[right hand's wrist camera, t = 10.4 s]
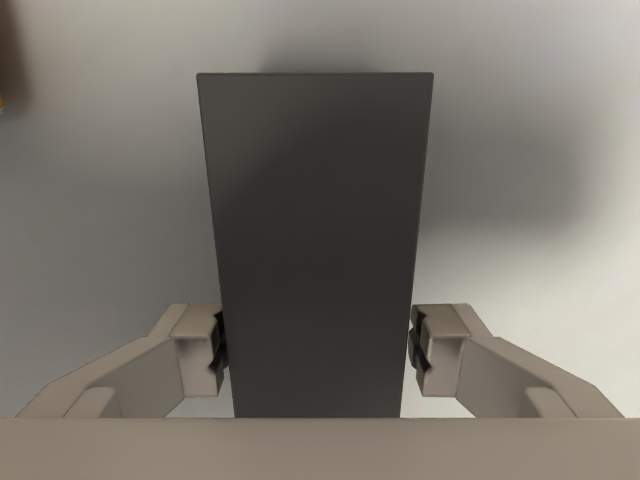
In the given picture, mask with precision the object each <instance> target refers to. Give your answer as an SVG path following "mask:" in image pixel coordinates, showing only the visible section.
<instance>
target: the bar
mask: <svg viewBox="0 0 640 480" xmlns="http://www.w3.org/2000/svg"><path fill="white" fill-rule="evenodd" d="M196 79H197V87H198V96H199V105H200V114H201V123H202V132H203V141H204V149H205V158H206V167H207V176H208V185H209V194H210V203H211V211H212V220H213V229H214V238H215V247H216V256H217V265H218V273H219V282H220V291H221V300H222V309H223V318H224V327H225V335H226V344H227V353H228V362H229V371H230V380H231V389H232V397H233V406H234V415H235V418H400V410H401V400H402V390H403V380H404V370H405V360H406V350H407V340H408V330H409V320H410V310H411V300H412V290H413V280H414V270H415V260H416V250H417V240H418V230H419V220H420V210H421V200H422V190H423V180H424V170H425V160H426V150H427V140H428V130H429V120H430V110H431V100H432V90H433V80H434V74H433V73H432V72H361V73H198V74H197V75H196Z"/></svg>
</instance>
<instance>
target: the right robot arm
mask: <svg viewBox="0 0 640 480" xmlns="http://www.w3.org/2000/svg"><path fill="white" fill-rule="evenodd" d="M410 319H411V322H412V324H413V328H412V329H411V330H410V331H409V335H408V353H409V358H410V362H411V365H412V366H413V367H414V368H415V369H417V373H416V379H417V382H418V385H419V388H420V391H421V394H422V396H423V397H456V400H458V401H459V402H460V403H461V404H462V405H463V406H464V407H465V408H466V409H467V410H469V411H470V412H471V413H472V414H473V415H474V416H475V417H476V418H164V417H165V416H166V415H167V414H168V413H169V412H170V411H172V410H173V409H174V408H175V407H176V406H177V405H178V404H179V403H180V402H181V401H183V400H184V397H217V396H218V394H219V391H220V388H221V385H222V382H223V379H224V373H223V369H225V368H226V367H227V366H228V365H229V362H228V353H227V344H226V335H225V327H224V318H223V309H222V304H190V303H177V304H170V305H169V307H168V308H167V309H166V311H165V312H164V313H163V315H162V316H161V318H160V319H159V320H158V322H157V323H156V324H155V326H154V327H153V329H152V330H151V331H150V333H149V334H148V335H147V337H140V338H138V339H136V340H134V341H132V342H130V343H128V344H126V345H124V346H122V347H120V348H118V349H116V350H114V351H112V352H110V353H108V354H106V355H104V356H102V357H100V358H98V359H96V360H94V361H92V362H90V363H88V364H87V365H85V366H83V367H81V368H79V369H77V370H75V371H73V372H71V373H69V374H67V375H65V376H63V377H61V378H59V379H57V380H55V381H53V382H51V383H49V384H47V385H46V386H45V387H44V388H43V389H42V390H41V391H40V392H39V393H38V394H37V395H36V396H35V397H34V398H33V399H32V400H31V401H30V402H29V403H28V404H27V405H26V406H25V408H24V409H23V410H22V411H21V412H20V413H19V414H18V415H17V416H16V417H15V418H0V480H640V418H625V417H624V416H623V415H622V414H621V413H620V412H619V411H618V410H617V409H616V407H615V406H614V405H613V404H612V403H611V402H610V401H609V400H608V399H607V398H606V397H605V396H604V395H603V394H602V393H601V392H600V391H599V390H598V388H597V387H596V386H594V385H592V384H590V383H588V382H587V381H585V380H583V379H581V378H579V377H577V376H575V375H573V374H571V373H569V372H567V371H565V370H563V369H561V368H559V367H557V366H555V365H553V364H551V363H549V362H547V361H545V360H543V359H542V358H540V357H538V356H536V355H534V354H532V353H530V352H528V351H526V350H524V349H522V348H520V347H518V346H516V345H514V344H512V343H510V342H508V341H506V340H504V339H502V338H500V337H493V335H492V334H491V333H490V331H489V330H488V329H487V327H486V326H485V325H484V323H483V322H482V320H481V319H480V318H479V316H478V315H477V314H476V312H475V311H474V310H473V308H472V307H471V306H470V305H469V304H467V303H457V304H418V305H412V309H411V315H410Z"/></svg>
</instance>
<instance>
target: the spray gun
mask: <svg viewBox="0 0 640 480" xmlns="http://www.w3.org/2000/svg"><path fill="white" fill-rule="evenodd" d="M3 108H4V107H3V103H2V99H1V95H0V115H1V114H2V112H3Z"/></svg>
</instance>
